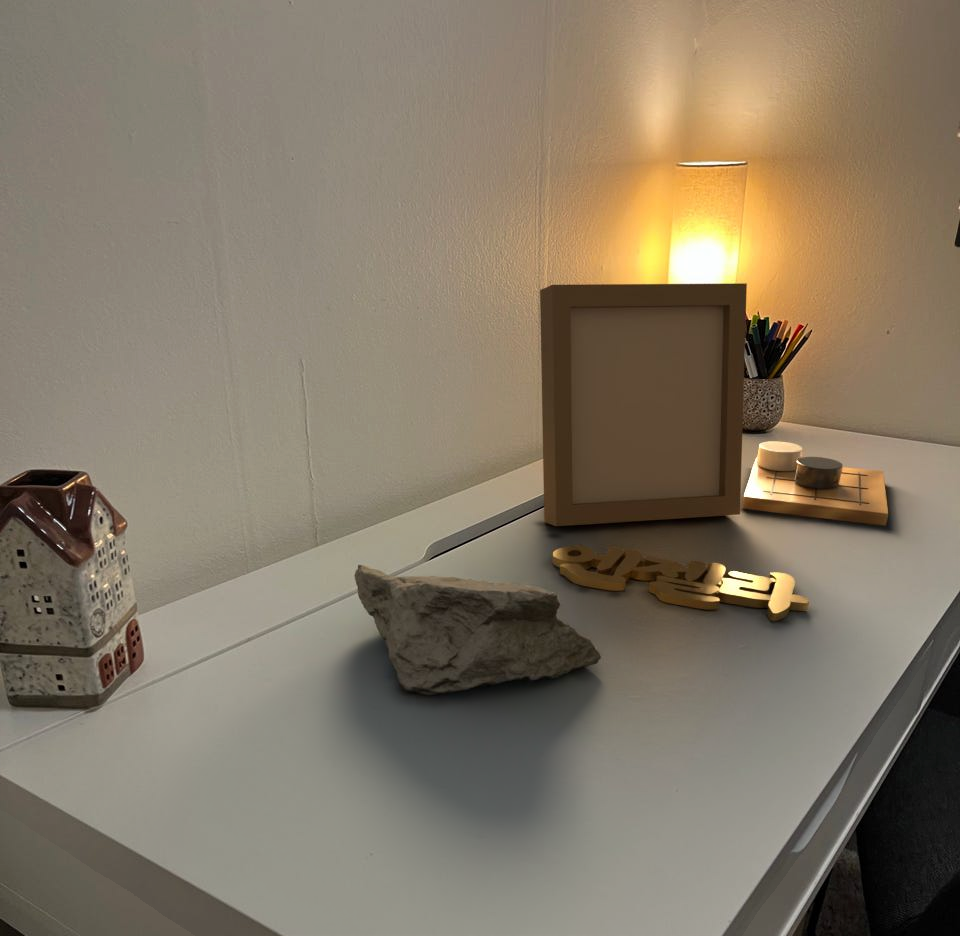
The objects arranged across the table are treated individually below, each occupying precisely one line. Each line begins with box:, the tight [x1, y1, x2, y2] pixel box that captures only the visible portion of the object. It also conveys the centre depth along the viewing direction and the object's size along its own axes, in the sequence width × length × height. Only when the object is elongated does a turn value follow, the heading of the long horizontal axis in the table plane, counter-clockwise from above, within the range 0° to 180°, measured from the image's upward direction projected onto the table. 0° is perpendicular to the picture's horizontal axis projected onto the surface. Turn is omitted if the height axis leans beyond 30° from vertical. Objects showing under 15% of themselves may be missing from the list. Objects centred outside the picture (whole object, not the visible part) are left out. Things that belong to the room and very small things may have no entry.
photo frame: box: [539, 282, 748, 527], centre depth 107 cm, size 15×22×25 cm
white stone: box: [756, 440, 804, 471], centre depth 124 cm, size 5×5×2 cm
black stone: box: [794, 456, 844, 489], centre depth 117 cm, size 5×5×2 cm
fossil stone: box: [354, 564, 602, 697], centre depth 76 cm, size 20×15×10 cm
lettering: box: [551, 544, 810, 622], centre depth 92 cm, size 25×10×1 cm, turn 68°
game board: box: [741, 457, 889, 527], centre depth 118 cm, size 16×18×2 cm
